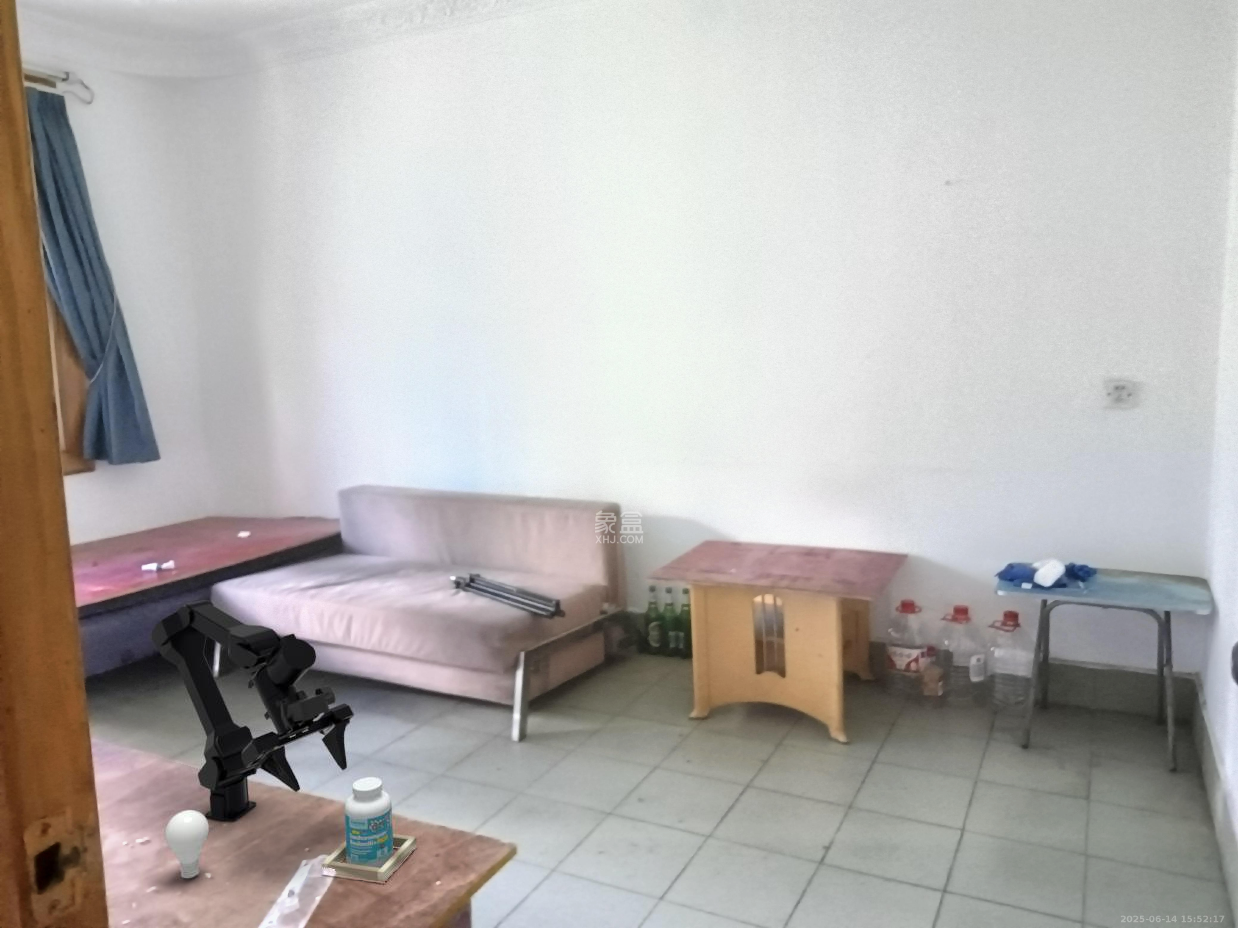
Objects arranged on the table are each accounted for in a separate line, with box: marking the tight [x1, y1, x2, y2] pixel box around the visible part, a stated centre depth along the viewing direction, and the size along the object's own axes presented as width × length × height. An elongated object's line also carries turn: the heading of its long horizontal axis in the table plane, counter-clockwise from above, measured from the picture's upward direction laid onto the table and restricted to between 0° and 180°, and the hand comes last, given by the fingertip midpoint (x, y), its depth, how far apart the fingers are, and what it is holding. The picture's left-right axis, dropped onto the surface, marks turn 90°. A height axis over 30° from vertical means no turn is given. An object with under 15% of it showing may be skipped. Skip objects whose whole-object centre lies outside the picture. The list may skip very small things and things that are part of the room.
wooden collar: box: [321, 833, 418, 882], centre depth 152 cm, size 11×11×2 cm
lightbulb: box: [164, 809, 210, 879], centre depth 147 cm, size 6×6×11 cm
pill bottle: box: [344, 776, 394, 868], centre depth 151 cm, size 8×7×14 cm
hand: (322, 779), depth 152 cm, fingers open, 9 cm apart
